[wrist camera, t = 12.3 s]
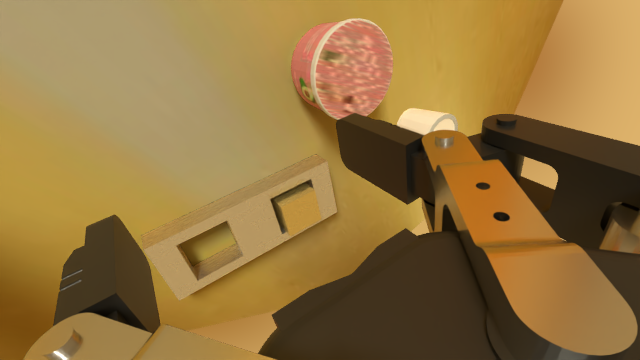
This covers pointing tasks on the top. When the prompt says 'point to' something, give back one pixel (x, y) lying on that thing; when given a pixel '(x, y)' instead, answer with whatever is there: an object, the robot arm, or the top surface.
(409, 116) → the white cup
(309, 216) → the wooden toy cube
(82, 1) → the top surface
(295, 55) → the container
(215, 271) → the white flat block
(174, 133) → the top surface
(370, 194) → the top surface
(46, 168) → the top surface
